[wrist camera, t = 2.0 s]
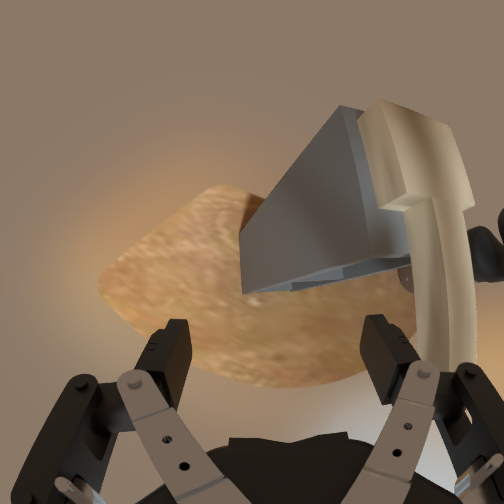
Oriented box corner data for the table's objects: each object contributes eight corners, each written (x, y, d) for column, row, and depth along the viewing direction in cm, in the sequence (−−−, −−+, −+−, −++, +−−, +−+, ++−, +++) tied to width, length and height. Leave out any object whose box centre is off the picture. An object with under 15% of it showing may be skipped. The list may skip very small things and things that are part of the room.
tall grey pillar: (291, 234, 49) (432, 133, 18) (296, 291, 47) (463, 251, 16) (238, 234, 46) (339, 105, 16) (242, 294, 45) (370, 253, 14)
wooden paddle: (428, 141, 18) (449, 126, 15) (462, 366, 15) (489, 368, 12) (356, 120, 16) (377, 97, 14) (392, 398, 13) (423, 407, 10)
